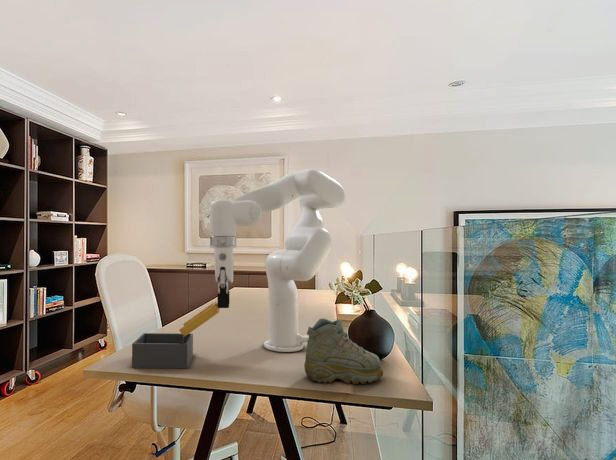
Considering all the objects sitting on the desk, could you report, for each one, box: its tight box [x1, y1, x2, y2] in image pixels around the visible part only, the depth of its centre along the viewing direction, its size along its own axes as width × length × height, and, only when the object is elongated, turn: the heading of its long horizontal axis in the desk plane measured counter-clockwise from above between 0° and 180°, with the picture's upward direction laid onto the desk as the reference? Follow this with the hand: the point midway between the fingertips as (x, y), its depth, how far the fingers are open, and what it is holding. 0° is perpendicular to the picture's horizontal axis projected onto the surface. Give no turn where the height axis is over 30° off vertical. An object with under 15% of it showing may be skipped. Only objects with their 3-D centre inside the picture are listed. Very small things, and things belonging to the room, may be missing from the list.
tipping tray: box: [178, 301, 221, 337], centre depth 110 cm, size 16×8×3 cm
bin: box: [131, 332, 194, 369], centre depth 111 cm, size 15×12×9 cm
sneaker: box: [304, 318, 384, 385], centre depth 97 cm, size 11×19×15 cm, turn 78°
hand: (223, 305), depth 110 cm, fingers closed on tipping tray, 4 cm apart
